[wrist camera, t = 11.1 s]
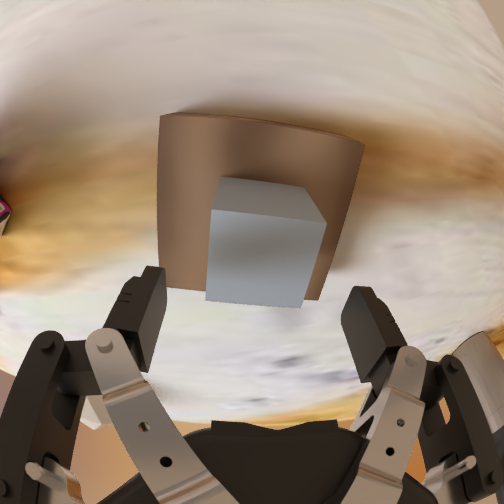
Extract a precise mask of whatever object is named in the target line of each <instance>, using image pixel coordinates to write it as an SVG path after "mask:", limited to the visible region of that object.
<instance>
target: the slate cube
mask: <svg viewBox="0 0 504 504" xmlns="http://www.w3.org/2000/svg"><path fill="white" fill-rule="evenodd" d="M326 225H327V223H326V221H325V220H324V218H323V216H322V215H321V213H320V211H319V210H318V208H317V207H316V205H315V203H314V202H313V200H312V199H311V197H310V196H309V194H308V192H307V191H306V189H305V188H304V187H298V186H292V185H285V184H278V183H271V182H264V181H256V180H248V179H240V178H231V177H221V176H220V180H219V183H218V187H217V191H216V194H215V198H214V202H213V206H212V209H211V222H210V234H209V248H208V264H207V281H206V300H205V301H215V302H225V303H235V304H247V305H259V306H272V307H287V308H301V306H302V303H303V300H304V297H305V294H306V291H307V288H308V285H309V281H310V278H311V275H312V272H313V269H314V266H315V262H316V259H317V256H318V253H319V249H320V246H321V242H322V239H323V236H324V232H325V229H326Z"/></svg>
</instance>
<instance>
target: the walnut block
mask: <svg viewBox="0 0 504 504" xmlns="http://www.w3.org/2000/svg"><path fill="white" fill-rule="evenodd" d="M363 149H364V144H362V143H360V142H358V141H355V140H353V139H351V138H348V137H346V136H342V135H338V134H334V133H330V132H325V131H321V130H316V129H311V128H306V127H301V126H296V125H290V124H284V123H278V122H272V121H265V120H258V119H250V118H242V117H233V116H222V115H210V114H195V113H171V114H166V115H162V116H160V126H159V142H158V166H157V230H158V255H159V267H163V268H165V272H166V287H170V288H179V289H187V290H197V291H206V281H207V264H208V248H209V234H210V222H211V209H212V206H213V202H214V198H215V194H216V191H217V187H218V183H219V180H220V176H221V177H231V178H240V179H248V180H256V181H264V182H271V183H278V184H285V185H292V186H298V187H304V188H305V189H306V191H307V192H308V194H309V196H310V197H311V199H312V200H313V202H314V203H315V205H316V207H317V208H318V210H319V211H320V213H321V215H322V216H323V218H324V220H325V221H326V223H327V225H326V229H325V232H324V236H323V239H322V242H321V246H320V249H319V253H318V256H317V259H316V262H315V266H314V269H313V272H312V275H311V278H310V281H309V285H308V288H307V291H306V294H305V297H304V300H318V299H319V297H320V294H321V291H322V288H323V285H324V283H325V280H326V277H327V274H328V271H329V268H330V265H331V262H332V259H333V256H334V253H335V250H336V247H337V244H338V241H339V237H340V234H341V231H342V228H343V224H344V221H345V217H346V214H347V211H348V207H349V204H350V200H351V196H352V193H353V189H354V185H355V181H356V178H357V174H358V170H359V166H360V162H361V158H362V153H363Z"/></svg>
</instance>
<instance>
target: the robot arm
mask: <svg viewBox="0 0 504 504" xmlns="http://www.w3.org/2000/svg"><path fill="white" fill-rule="evenodd" d="M166 306H167V289H166V272H165V268H163V267H154V266H146V268H145V269H144V271H143V273H142V276H141V277H136V276H133V277H132V278H131V279H130V280H128V281H127V282H126V283H125V284H124V286H123V288H122V290H121V292H120V294H119V296H118V298H117V301H116V302H115V304H114V306H113V308H112V310H111V312H110V314H109V316H108V318H107V320H106V322H105V324H104V326H103V328H101V329H98V330H96V331H94V332H92V333H91V334H90V335H89V336H88V338H87V339H86V340H79V341H64V339H63V337H62V335H61V334H60V333H58V332H56V331H45V332H42V333H40V334H39V335H37V336H36V337H35V339H34V340H33V342H32V344H31V346H30V348H29V350H28V352H27V354H26V356H25V358H24V360H23V362H22V364H21V367H20V369H19V371H18V373H17V376H16V378H15V380H14V383H13V385H12V388H11V390H10V393H9V395H8V398H7V401H6V404H5V406H4V409H3V412H2V415H1V418H0V504H85V503H84V501H83V499H82V496H81V486H80V483H79V481H78V479H77V477H76V476H75V475H74V474H73V473H72V472H71V471H70V466H71V460H72V455H73V449H74V445H75V440H76V435H77V431H78V426H79V422H80V418H81V414H82V410H83V406H84V403H85V399H86V396H91V395H102V396H103V397H102V399H103V402H104V405H105V407H106V409H107V411H108V414H109V416H110V418H111V420H112V422H113V424H114V427H115V429H116V431H117V432H118V434H119V437H120V439H121V441H122V442H123V444H124V446H125V448H126V450H127V452H128V453H129V455H130V457H131V459H132V461H133V462H134V464H135V466H136V467H137V469H138V471H139V472H138V473H137V474H136V475H135V476H134V477H132V478H131V479H130V480H128V481H127V482H126V483H124V484H123V485H122V486H121V487H119V488H118V489H117V490H115V491H114V492H112V493H111V494H110V495H108V496H107V497H106V498H104V499H103V500H101V501H100V502H99V503H97V504H472V503H475V502H477V501H479V500H481V499H483V498H486V497H487V496H490V495H492V494H493V493H496V497H497V502H498V504H504V360H503V358H502V356H501V355H500V353H499V351H498V350H497V348H496V347H495V345H494V344H493V342H492V341H491V339H490V337H489V336H487V335H486V333H484V332H481V333H478V334H476V335H474V336H472V337H471V338H469V339H468V340H467V341H465V342H464V343H463V344H462V345H461V346H460V347H459V348H458V349H457V350H456V351H455V352H454V353H453V354H452V355H445V356H444V357H443V358H442V359H441V360H440V361H439V362H434V361H429V360H426V358H425V356H424V355H423V353H422V352H421V351H420V350H418V349H417V348H415V347H412V346H408V345H407V343H406V341H405V339H404V337H403V335H402V333H401V331H400V329H399V327H398V325H397V323H395V320H394V318H393V316H392V314H391V312H390V310H389V309H388V307H387V305H386V304H385V303H384V302H382V301H381V300H380V299H379V298H377V297H376V295H375V293H374V291H373V289H372V288H371V287H365V286H354V287H353V288H352V290H351V292H350V295H349V297H348V299H347V302H346V304H345V306H344V309H343V311H342V314H341V325H342V328H343V331H344V333H345V336H346V339H347V342H348V345H349V348H350V351H351V354H352V357H353V360H354V363H355V366H356V369H357V372H358V375H359V378H360V382H361V383H366V382H371V384H372V386H371V388H370V389H369V391H368V393H367V395H366V398H365V400H364V402H363V404H362V406H361V408H360V410H359V413H358V415H357V417H356V419H355V421H354V422H353V424H352V425H351V427H350V428H349V429H344V428H340V427H338V424H337V419H336V420H326V421H313V422H306V423H303V424H300V425H296V426H293V427H289V428H285V429H281V430H274V429H269V428H265V427H260V426H256V425H252V424H248V423H244V422H226V421H213V420H212V422H211V428H205V429H201V430H197V431H194V432H191V433H189V434H187V435H184V436H182V435H181V433H180V432H179V431H178V429H177V428H176V426H175V425H174V423H173V422H172V420H171V419H170V417H169V415H168V414H167V412H166V411H165V409H164V408H163V406H162V404H161V403H160V401H159V399H158V398H157V396H156V394H155V393H154V391H153V389H152V388H151V386H150V384H149V383H148V382H147V381H145V380H144V378H143V376H142V374H141V372H146V373H148V371H149V368H150V364H151V360H152V356H153V353H154V349H155V345H156V342H157V338H158V335H159V331H160V328H161V325H162V321H163V318H164V314H165V311H166ZM443 397H444V398H445V400H446V403H447V405H448V408H449V411H450V420H449V422H448V423H447V424H445V420H444V417H443V414H442V411H441V409H440V406H439V403H438V402H439V401H440V400H441V399H442V398H443ZM417 435H418V438H419V443H420V446H421V450H422V455H423V458H424V463H425V468H426V472H427V474H426V478H425V480H424V481H423V482H422V483H419V482H418V481H417V480H415V479H414V478H413V477H411V476H410V475H409V474H408V473H406V472H405V470H406V468H407V465H408V462H409V459H410V456H411V454H412V451H413V447H414V444H415V441H416V438H417Z"/></svg>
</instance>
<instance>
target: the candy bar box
mask: <svg viewBox="0 0 504 504" xmlns="http://www.w3.org/2000/svg"><path fill="white" fill-rule="evenodd" d="M11 212H12V211H11V209H10V208H9V207H8V206H7V204H6V203H5V202H4V201H3V199H2V198H1V197H0V238H1V237H2V235H3V232H4V229H5V227H6V224H7V222H8V220H9V218H10V215H11Z"/></svg>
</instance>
